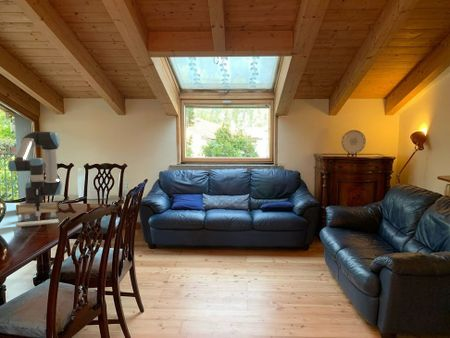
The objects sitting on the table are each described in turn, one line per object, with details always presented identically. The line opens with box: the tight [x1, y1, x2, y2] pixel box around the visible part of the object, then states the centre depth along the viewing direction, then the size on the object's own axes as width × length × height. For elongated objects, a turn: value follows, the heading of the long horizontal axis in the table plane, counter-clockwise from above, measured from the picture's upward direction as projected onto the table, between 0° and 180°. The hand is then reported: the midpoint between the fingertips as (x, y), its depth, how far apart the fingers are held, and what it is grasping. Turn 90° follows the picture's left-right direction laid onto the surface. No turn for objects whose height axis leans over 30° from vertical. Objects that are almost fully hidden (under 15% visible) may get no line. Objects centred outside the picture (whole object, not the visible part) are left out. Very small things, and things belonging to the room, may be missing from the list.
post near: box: [22, 203, 33, 222], centre depth 218 cm, size 6×5×11 cm
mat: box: [16, 218, 59, 228], centre depth 210 cm, size 10×24×1 cm, turn 120°
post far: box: [48, 212, 58, 220], centre depth 226 cm, size 6×5×11 cm
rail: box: [15, 201, 59, 216], centre depth 209 cm, size 4×24×6 cm, turn 120°
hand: (38, 215), depth 210 cm, fingers closed on rail, 4 cm apart
